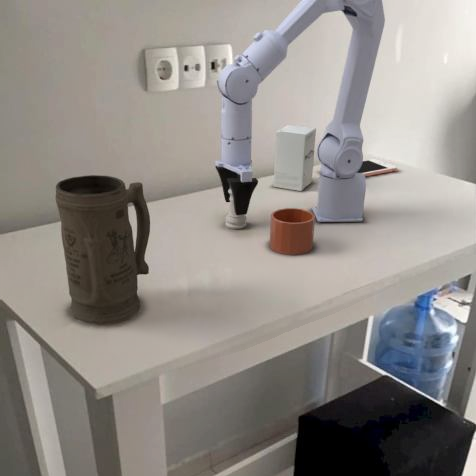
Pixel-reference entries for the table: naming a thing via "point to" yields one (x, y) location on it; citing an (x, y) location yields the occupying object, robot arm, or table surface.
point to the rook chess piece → (234, 216)
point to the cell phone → (375, 167)
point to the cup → (292, 231)
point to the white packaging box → (294, 157)
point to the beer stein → (102, 246)
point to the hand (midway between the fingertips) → (235, 207)
